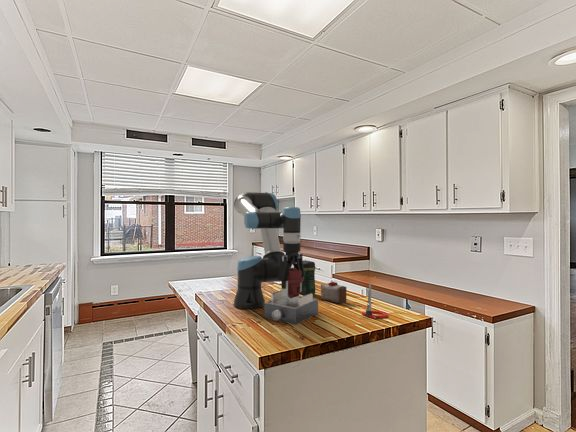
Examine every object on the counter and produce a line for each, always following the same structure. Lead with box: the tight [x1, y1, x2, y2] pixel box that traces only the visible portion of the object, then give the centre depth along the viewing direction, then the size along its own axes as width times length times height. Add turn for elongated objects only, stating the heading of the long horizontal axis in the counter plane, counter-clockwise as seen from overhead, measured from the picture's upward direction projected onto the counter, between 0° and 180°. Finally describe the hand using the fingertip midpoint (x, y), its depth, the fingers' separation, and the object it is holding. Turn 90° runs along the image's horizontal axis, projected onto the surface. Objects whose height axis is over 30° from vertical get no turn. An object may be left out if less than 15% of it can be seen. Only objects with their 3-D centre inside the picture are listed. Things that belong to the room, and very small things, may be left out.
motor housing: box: [264, 289, 319, 326], centre depth 141 cm, size 16×21×10 cm
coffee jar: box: [299, 259, 316, 296], centre depth 183 cm, size 10×8×19 cm
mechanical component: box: [287, 267, 303, 298], centre depth 142 cm, size 12×10×10 cm
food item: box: [320, 281, 347, 305], centre depth 168 cm, size 14×8×10 cm, turn 43°
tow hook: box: [361, 284, 388, 320], centre depth 143 cm, size 9×14×10 cm
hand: (291, 293), depth 142 cm, fingers closed on mechanical component, 10 cm apart
